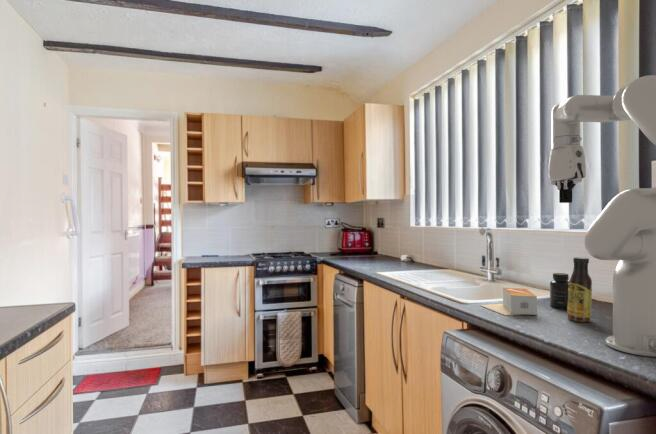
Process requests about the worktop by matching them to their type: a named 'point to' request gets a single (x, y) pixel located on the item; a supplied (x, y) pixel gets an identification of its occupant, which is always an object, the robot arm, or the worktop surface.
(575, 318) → the sauce bottle
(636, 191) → the robot arm
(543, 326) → the worktop surface
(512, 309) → the small box
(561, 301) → the supplement bottle
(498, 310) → the cork mat
